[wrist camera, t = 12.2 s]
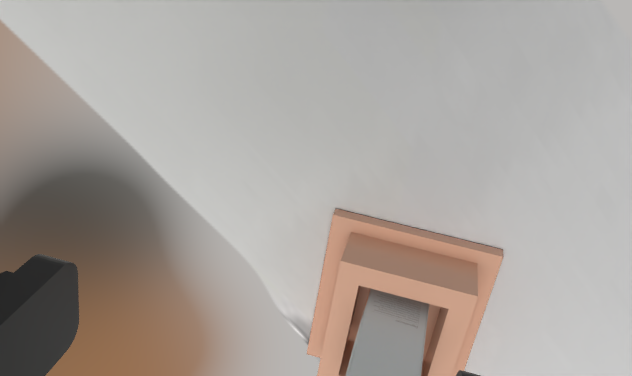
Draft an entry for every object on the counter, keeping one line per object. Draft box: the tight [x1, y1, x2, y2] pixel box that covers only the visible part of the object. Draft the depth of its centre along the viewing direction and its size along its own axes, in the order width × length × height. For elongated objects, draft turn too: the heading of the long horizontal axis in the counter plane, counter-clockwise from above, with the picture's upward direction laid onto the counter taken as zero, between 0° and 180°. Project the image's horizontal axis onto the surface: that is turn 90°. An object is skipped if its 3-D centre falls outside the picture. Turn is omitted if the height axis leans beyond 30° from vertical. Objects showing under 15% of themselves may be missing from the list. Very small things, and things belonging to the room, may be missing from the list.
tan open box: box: [307, 209, 503, 376], centre depth 44 cm, size 12×13×5 cm
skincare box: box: [346, 288, 429, 376], centre depth 40 cm, size 6×4×12 cm
